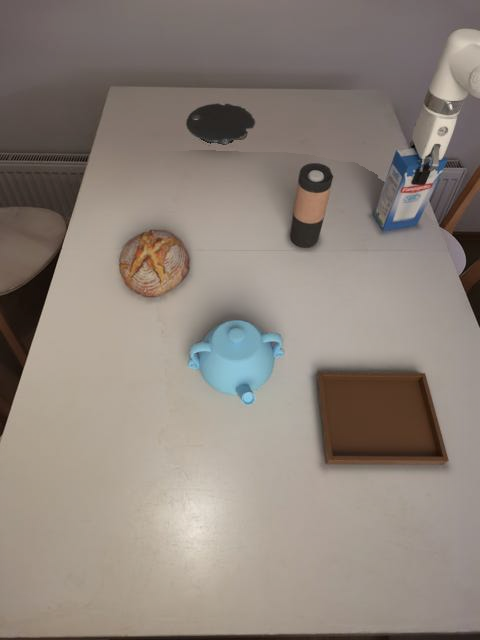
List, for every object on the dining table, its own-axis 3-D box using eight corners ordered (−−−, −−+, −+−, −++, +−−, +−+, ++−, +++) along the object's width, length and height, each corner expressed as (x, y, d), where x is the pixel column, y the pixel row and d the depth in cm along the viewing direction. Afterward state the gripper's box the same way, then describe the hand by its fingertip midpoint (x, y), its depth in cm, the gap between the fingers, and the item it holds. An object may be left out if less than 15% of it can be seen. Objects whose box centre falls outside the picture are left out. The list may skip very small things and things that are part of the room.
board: (172, 133, 137) (170, 118, 133) (223, 108, 146) (223, 93, 141) (217, 165, 128) (217, 150, 124) (269, 137, 137) (270, 121, 133)
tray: (420, 378, 89) (425, 373, 87) (443, 465, 79) (448, 461, 77) (316, 378, 89) (318, 372, 87) (325, 464, 79) (328, 460, 77)
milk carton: (382, 231, 113) (407, 166, 97) (372, 215, 117) (395, 150, 100) (416, 225, 115) (447, 160, 98) (406, 210, 118) (434, 144, 102)
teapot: (274, 329, 95) (279, 295, 85) (296, 414, 84) (305, 386, 74) (185, 342, 93) (179, 307, 83) (195, 430, 82) (190, 403, 72)
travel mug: (283, 240, 111) (292, 175, 94) (298, 224, 114) (309, 158, 98) (309, 253, 108) (323, 188, 92) (324, 235, 112) (339, 170, 96)
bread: (120, 305, 100) (107, 277, 91) (127, 243, 111) (116, 213, 102) (190, 299, 100) (184, 271, 91) (190, 238, 111) (184, 208, 102)
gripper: (475, 124, 84) (439, 197, 98) (450, 79, 94) (421, 151, 108) (436, 124, 84) (406, 197, 98) (416, 78, 94) (391, 151, 108)
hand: (414, 172), depth 103 cm, fingers closed on milk carton, 7 cm apart
